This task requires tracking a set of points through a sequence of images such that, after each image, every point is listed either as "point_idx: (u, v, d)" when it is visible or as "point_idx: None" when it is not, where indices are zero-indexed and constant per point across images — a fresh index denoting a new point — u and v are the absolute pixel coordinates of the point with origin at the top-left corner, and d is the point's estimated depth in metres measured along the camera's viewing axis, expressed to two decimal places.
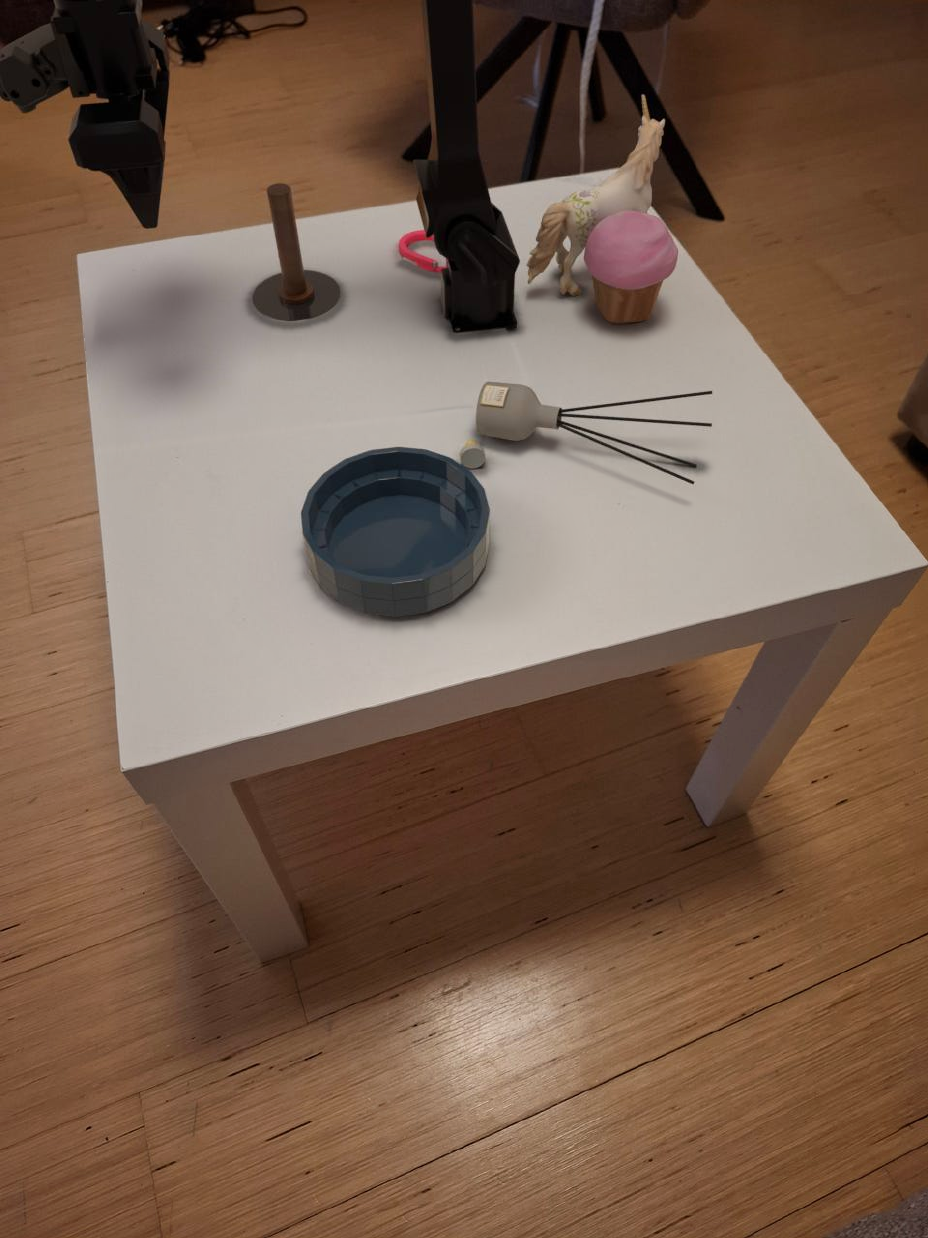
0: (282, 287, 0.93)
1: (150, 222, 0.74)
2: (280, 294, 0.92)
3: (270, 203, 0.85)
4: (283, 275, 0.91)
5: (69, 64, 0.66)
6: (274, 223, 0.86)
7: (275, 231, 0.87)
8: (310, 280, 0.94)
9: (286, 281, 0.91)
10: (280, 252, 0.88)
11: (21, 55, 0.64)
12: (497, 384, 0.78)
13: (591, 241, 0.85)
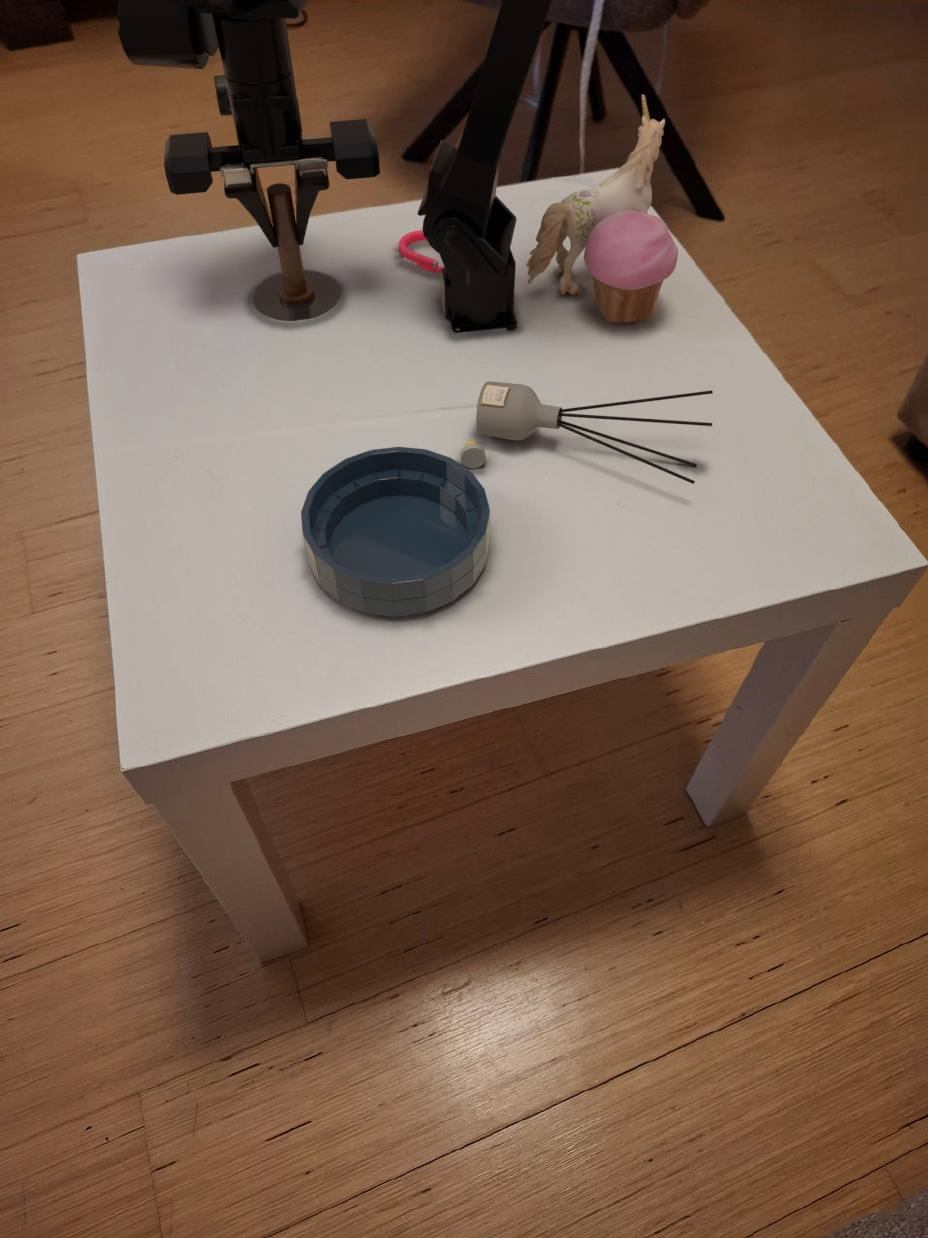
0: (282, 287, 0.93)
1: None
2: (280, 294, 0.92)
3: (270, 203, 0.85)
4: (283, 275, 0.91)
5: None
6: (274, 223, 0.86)
7: (275, 231, 0.87)
8: (310, 280, 0.94)
9: (286, 281, 0.91)
10: (280, 252, 0.88)
11: (223, 81, 0.81)
12: (497, 384, 0.78)
13: (591, 241, 0.85)
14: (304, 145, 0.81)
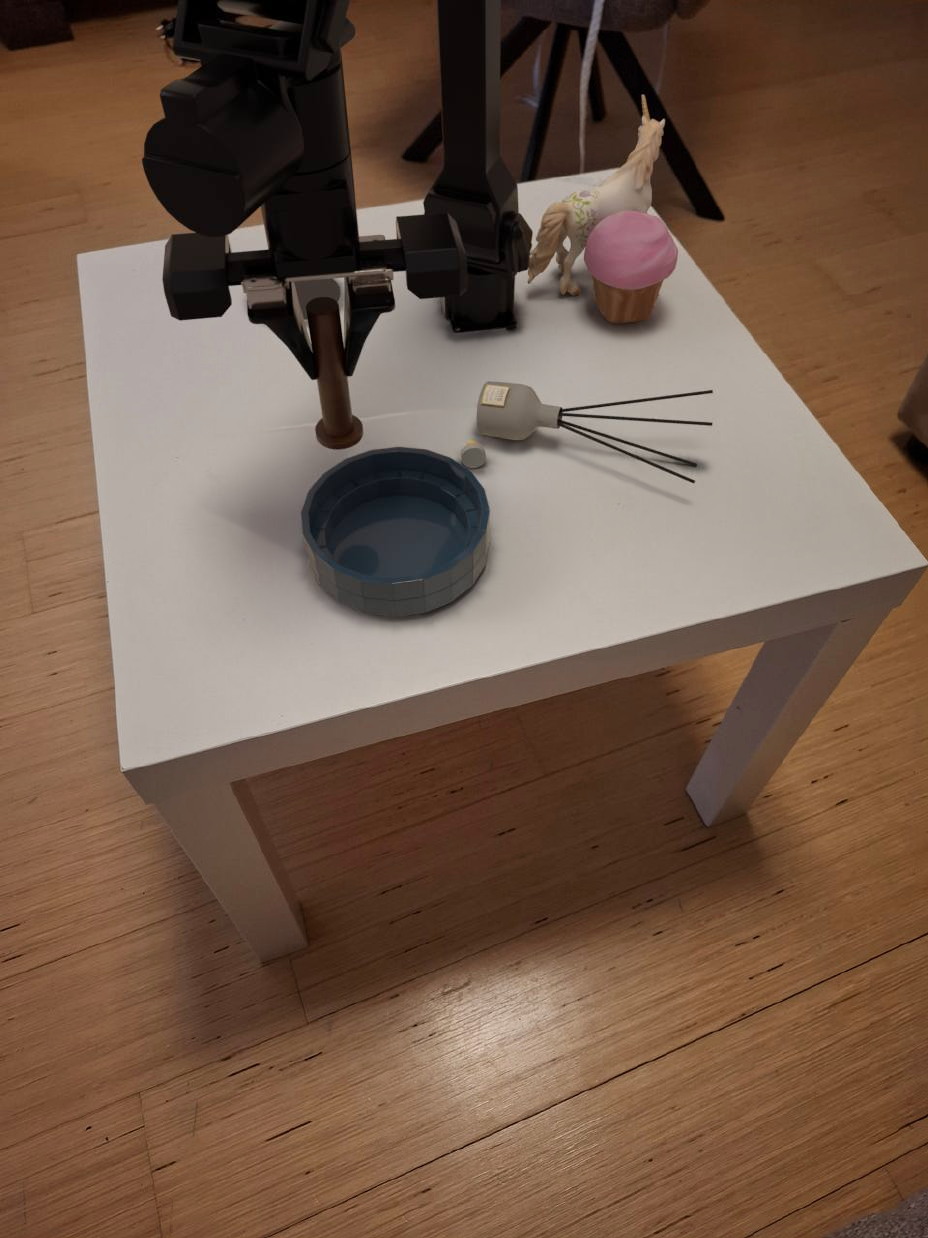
0: (321, 424, 0.69)
1: None
2: (318, 435, 0.68)
3: (310, 325, 0.61)
4: (323, 412, 0.67)
5: None
6: (314, 350, 0.62)
7: (315, 359, 0.63)
8: (310, 280, 0.94)
9: (327, 420, 0.67)
10: (321, 385, 0.65)
11: None
12: (498, 384, 0.78)
13: (591, 241, 0.85)
14: (361, 251, 0.57)
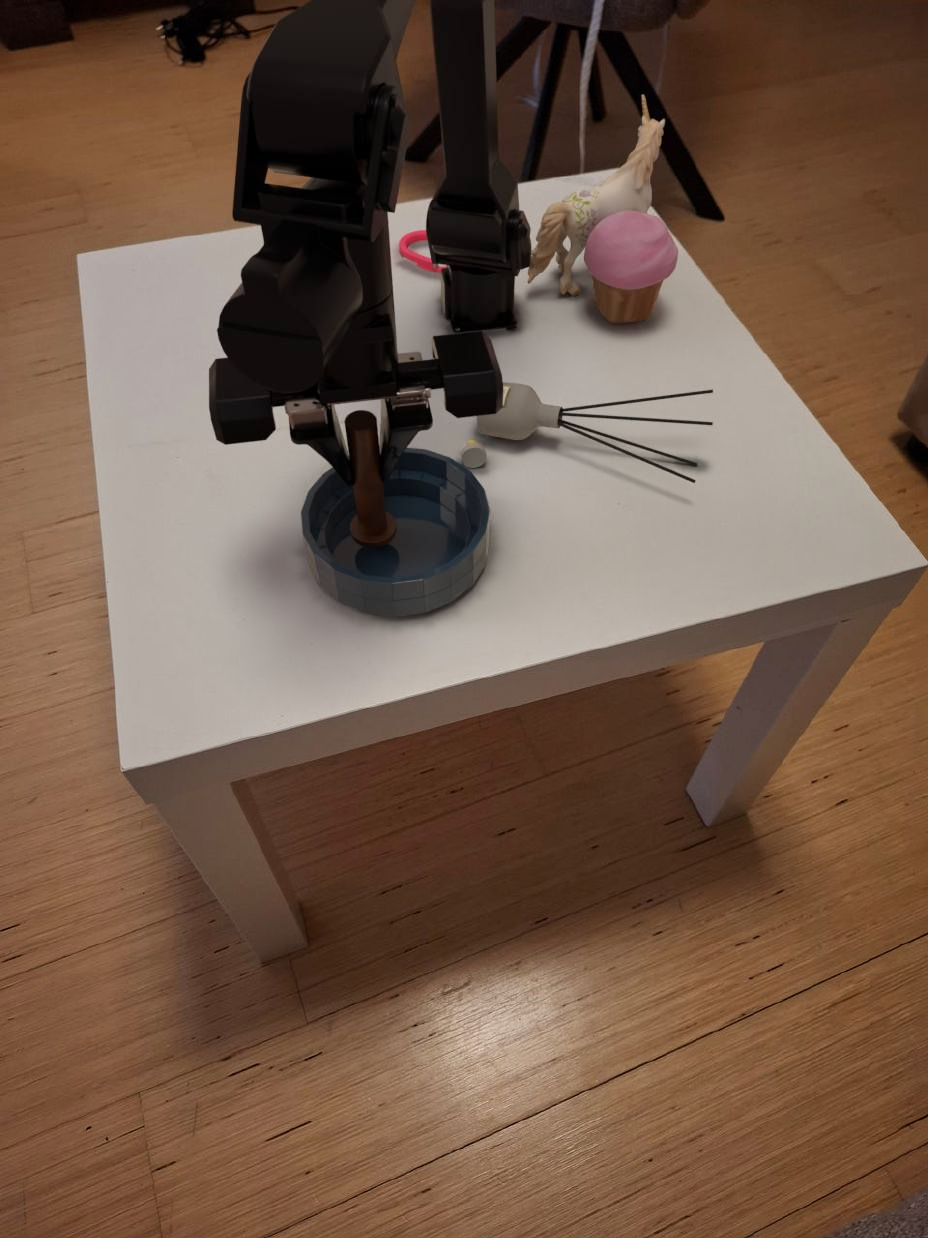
0: (355, 522, 0.70)
1: None
2: (353, 534, 0.70)
3: (349, 438, 0.62)
4: (359, 514, 0.68)
5: None
6: (352, 460, 0.64)
7: (352, 468, 0.65)
8: None
9: (362, 521, 0.69)
10: (357, 490, 0.66)
11: None
12: None
13: (591, 241, 0.85)
14: (400, 373, 0.59)
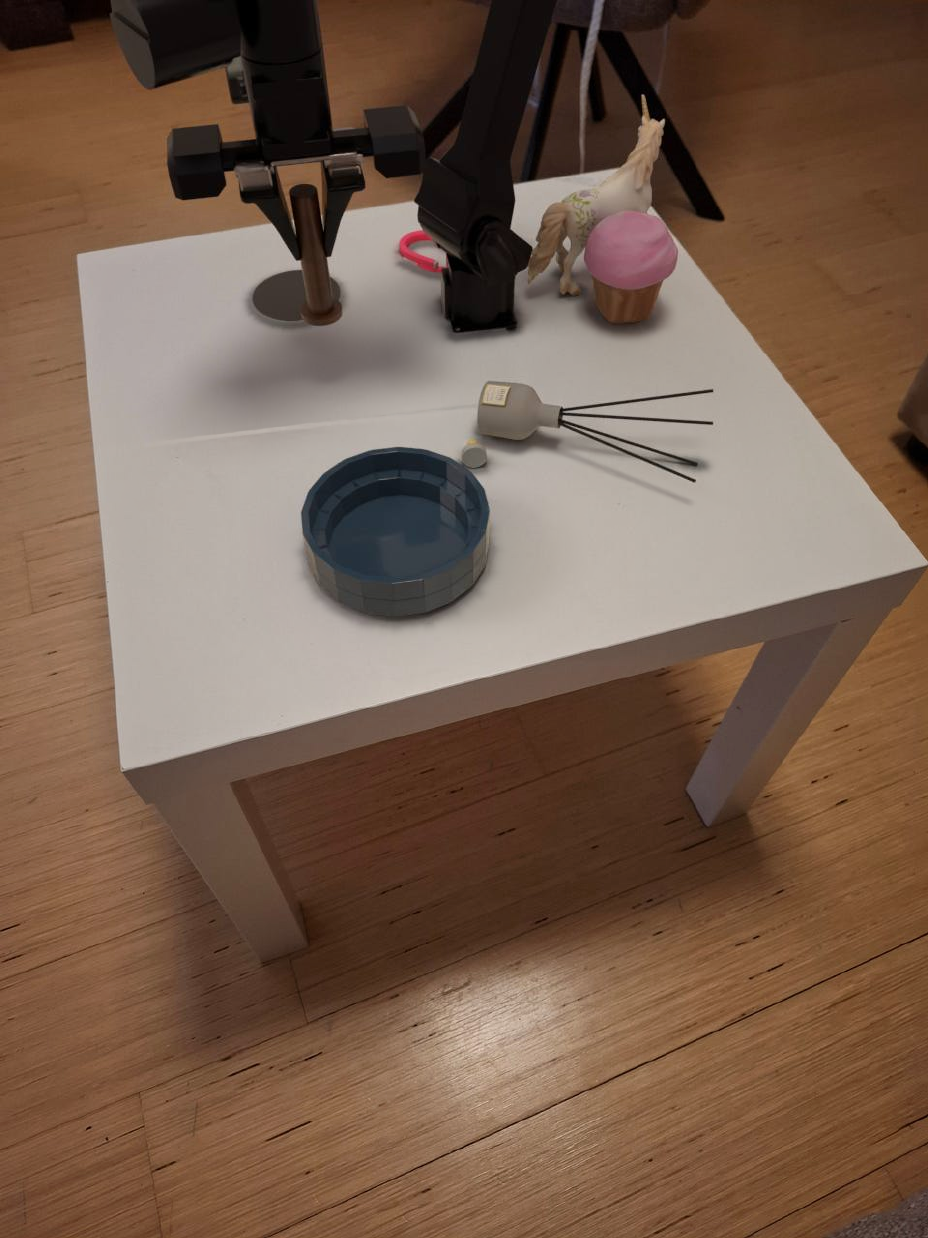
0: (305, 305, 0.79)
1: None
2: (303, 314, 0.78)
3: (293, 208, 0.71)
4: (307, 292, 0.77)
5: None
6: (298, 231, 0.72)
7: (299, 241, 0.73)
8: None
9: (311, 299, 0.77)
10: (304, 265, 0.75)
11: (235, 63, 0.68)
12: (498, 383, 0.78)
13: (591, 241, 0.85)
14: (335, 138, 0.67)
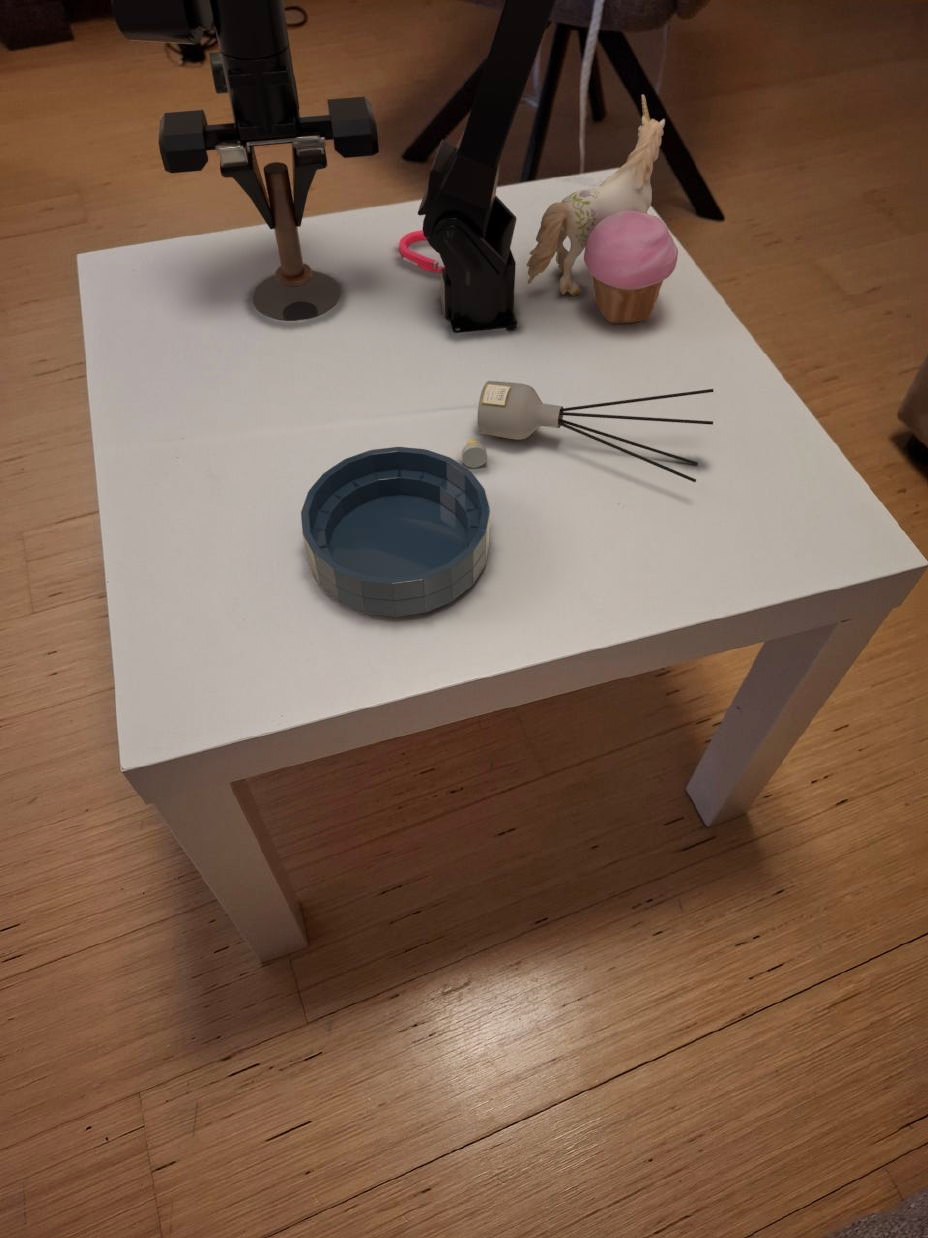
0: (280, 269, 0.91)
1: None
2: (277, 277, 0.90)
3: (267, 182, 0.83)
4: (280, 257, 0.89)
5: None
6: (271, 203, 0.85)
7: (272, 211, 0.85)
8: (310, 280, 0.94)
9: (283, 264, 0.89)
10: (277, 233, 0.87)
11: (219, 58, 0.80)
12: (498, 383, 0.78)
13: (591, 241, 0.85)
14: (301, 123, 0.80)
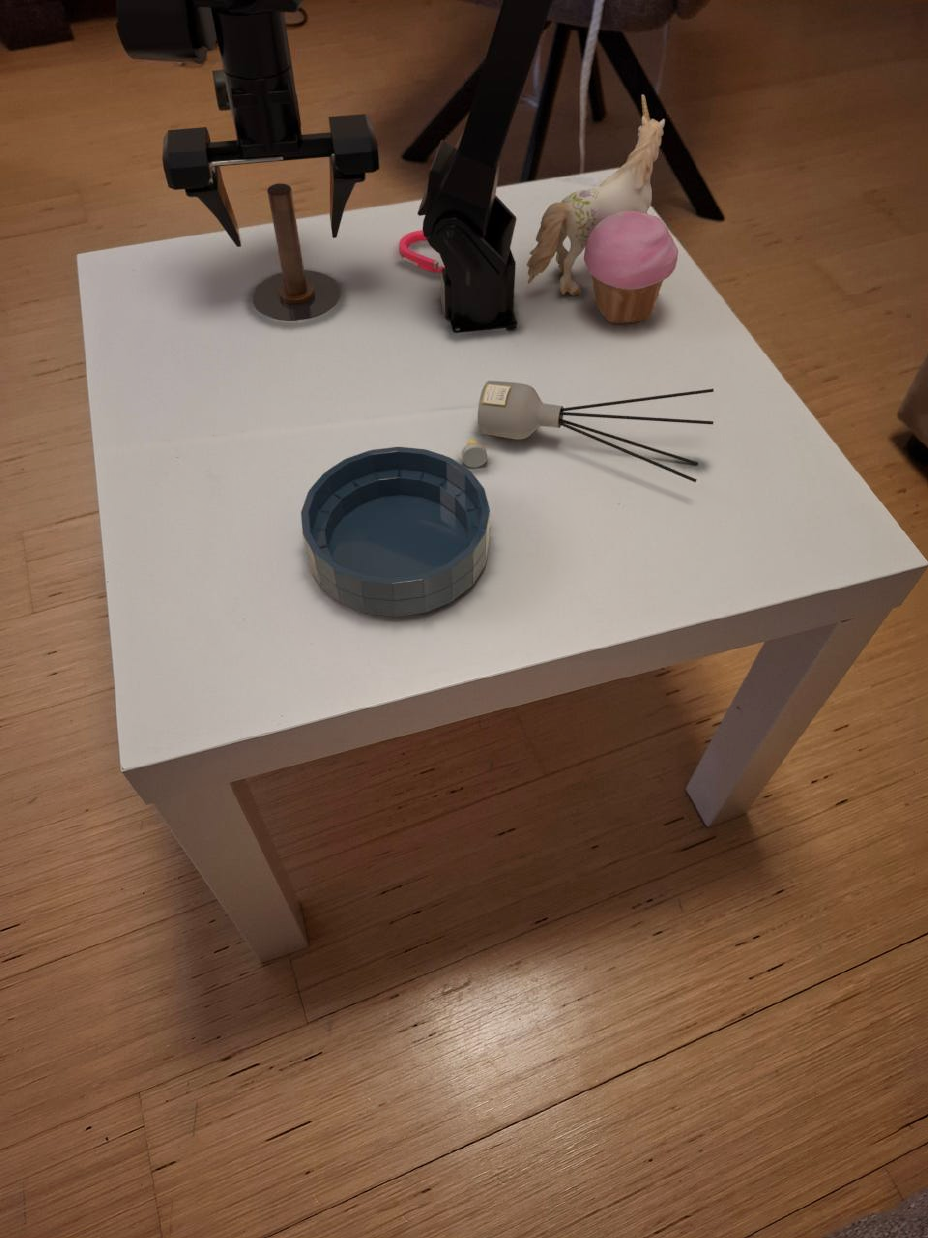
0: (283, 287, 0.93)
1: None
2: (280, 294, 0.92)
3: (271, 203, 0.85)
4: (283, 275, 0.91)
5: None
6: (275, 223, 0.86)
7: (276, 231, 0.87)
8: (310, 280, 0.94)
9: (286, 282, 0.91)
10: (281, 252, 0.88)
11: (222, 76, 0.81)
12: (499, 383, 0.78)
13: (591, 241, 0.85)
14: (303, 140, 0.81)
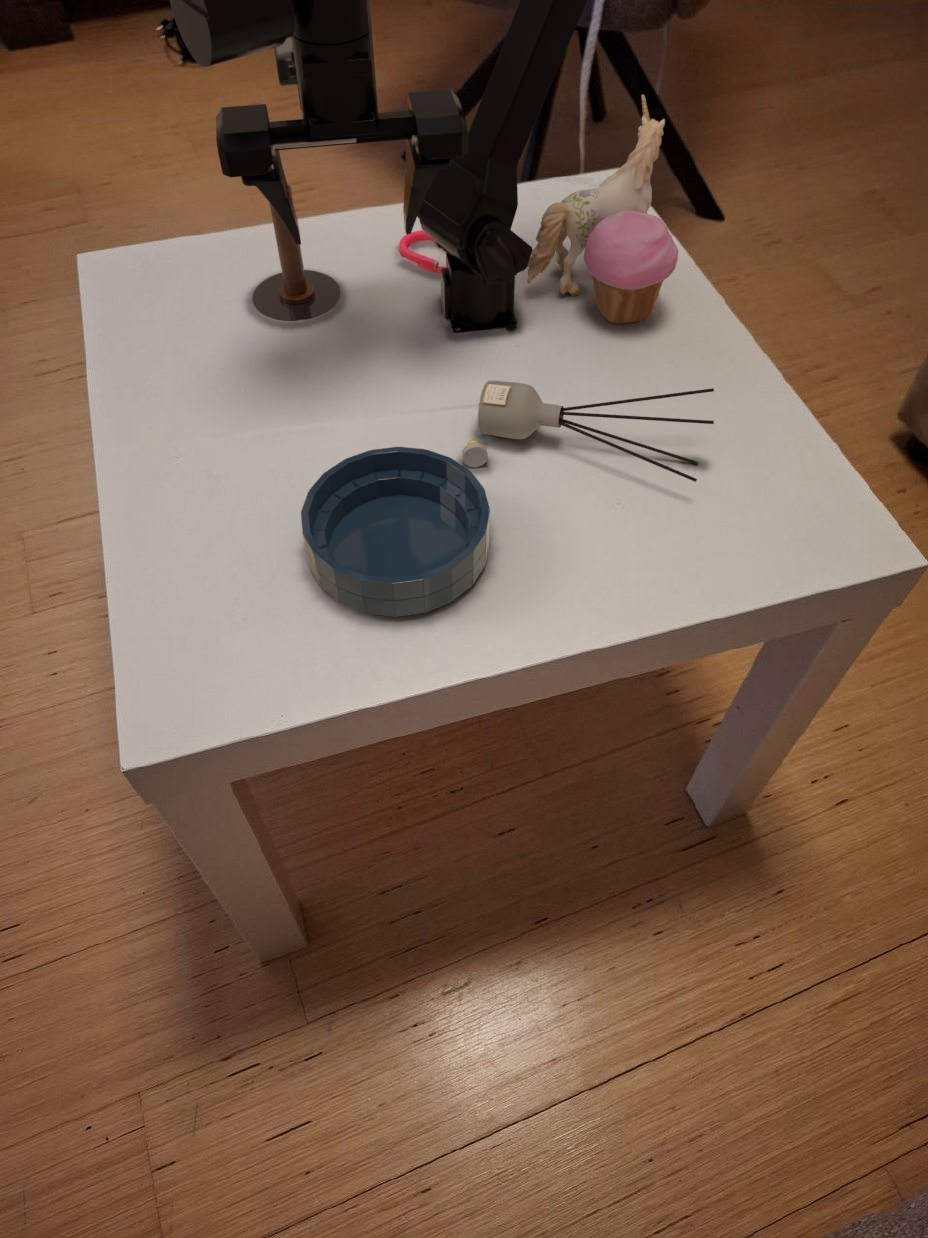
0: (283, 287, 0.93)
1: None
2: (280, 294, 0.92)
3: None
4: (283, 275, 0.91)
5: (295, 74, 0.68)
6: (275, 223, 0.86)
7: (276, 231, 0.87)
8: (310, 280, 0.94)
9: (286, 282, 0.91)
10: (281, 252, 0.88)
11: (284, 44, 0.69)
12: (499, 383, 0.78)
13: (591, 241, 0.85)
14: (380, 119, 0.69)
